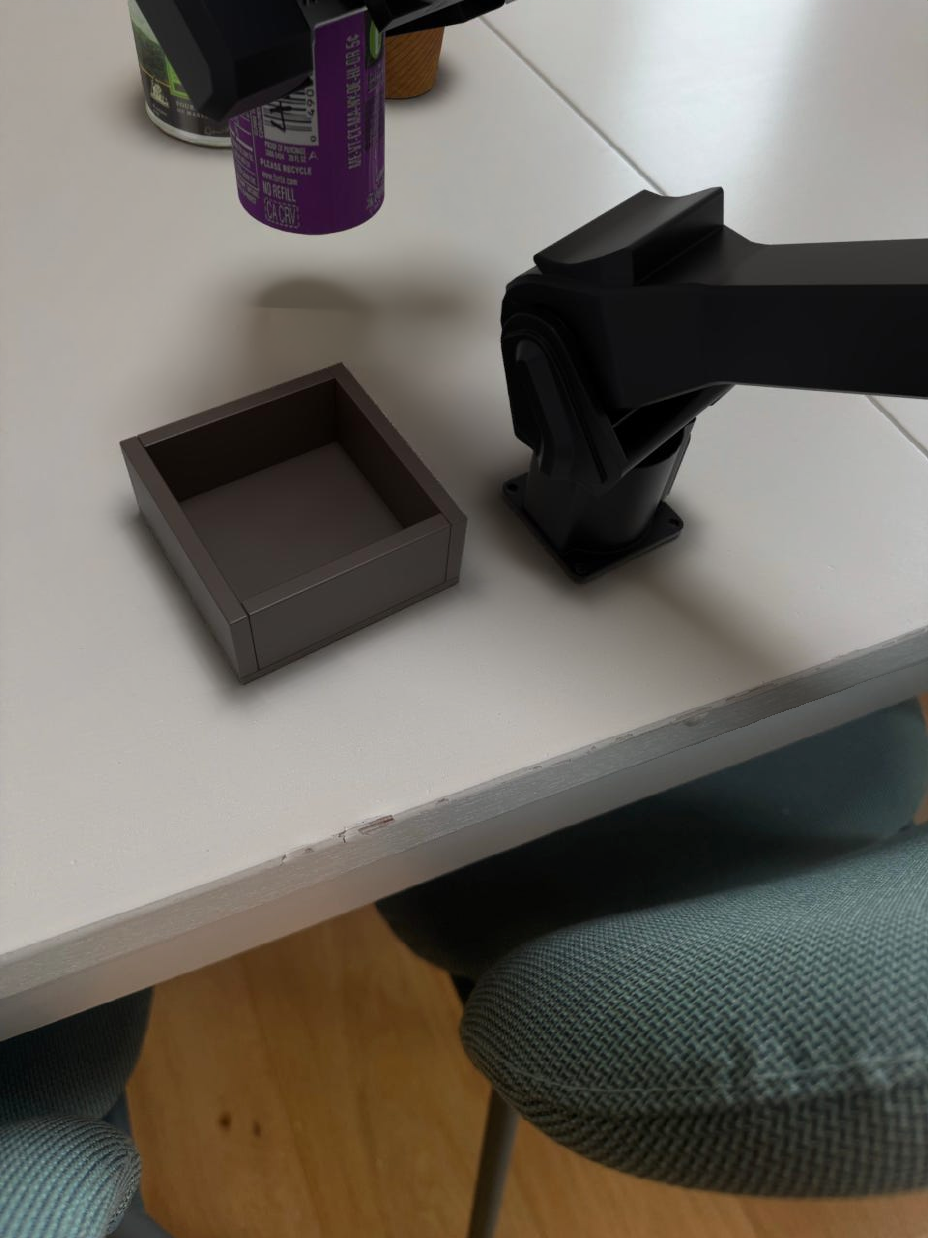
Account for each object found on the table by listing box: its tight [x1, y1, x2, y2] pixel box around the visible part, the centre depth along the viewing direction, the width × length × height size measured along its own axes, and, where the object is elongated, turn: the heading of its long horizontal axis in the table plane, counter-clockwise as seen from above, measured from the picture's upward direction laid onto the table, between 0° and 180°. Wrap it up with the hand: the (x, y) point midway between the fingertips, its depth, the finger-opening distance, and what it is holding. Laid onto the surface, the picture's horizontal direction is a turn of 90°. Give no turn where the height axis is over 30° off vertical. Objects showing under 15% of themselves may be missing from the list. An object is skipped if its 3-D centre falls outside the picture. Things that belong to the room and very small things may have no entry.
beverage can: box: [228, 0, 386, 236], centre depth 42 cm, size 7×7×12 cm
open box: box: [118, 361, 469, 685], centre depth 41 cm, size 11×11×4 cm
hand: (282, 55), depth 42 cm, fingers closed on beverage can, 7 cm apart
